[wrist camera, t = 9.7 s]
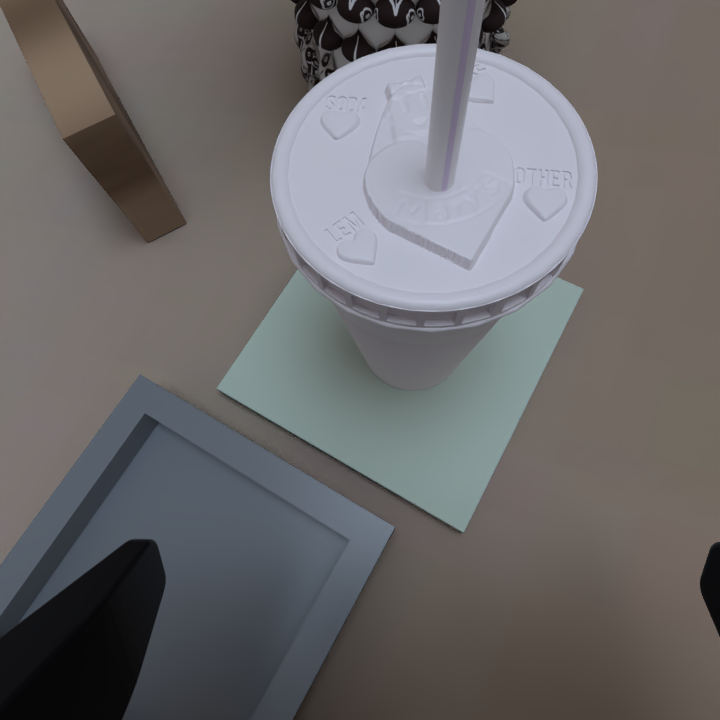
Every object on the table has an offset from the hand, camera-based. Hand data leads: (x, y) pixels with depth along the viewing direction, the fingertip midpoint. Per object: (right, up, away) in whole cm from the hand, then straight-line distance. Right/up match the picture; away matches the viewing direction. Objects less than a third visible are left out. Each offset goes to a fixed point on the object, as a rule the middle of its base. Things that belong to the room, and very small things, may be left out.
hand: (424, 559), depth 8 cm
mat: (+1, +4, +11) cm, 12 cm away
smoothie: (+1, +4, +11) cm, 11 cm away
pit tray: (-7, -4, +9) cm, 12 cm away
